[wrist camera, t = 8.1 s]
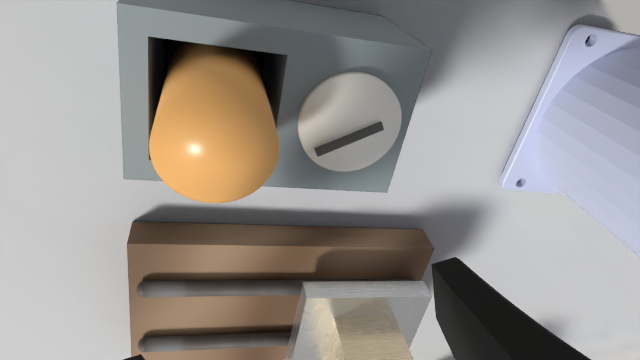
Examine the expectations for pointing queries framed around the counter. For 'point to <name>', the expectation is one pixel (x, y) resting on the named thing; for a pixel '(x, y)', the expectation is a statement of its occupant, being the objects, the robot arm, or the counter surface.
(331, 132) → the gauge box
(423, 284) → the carriage
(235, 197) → the button
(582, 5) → the counter surface
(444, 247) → the counter surface
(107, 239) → the counter surface
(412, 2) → the counter surface
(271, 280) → the rail track
